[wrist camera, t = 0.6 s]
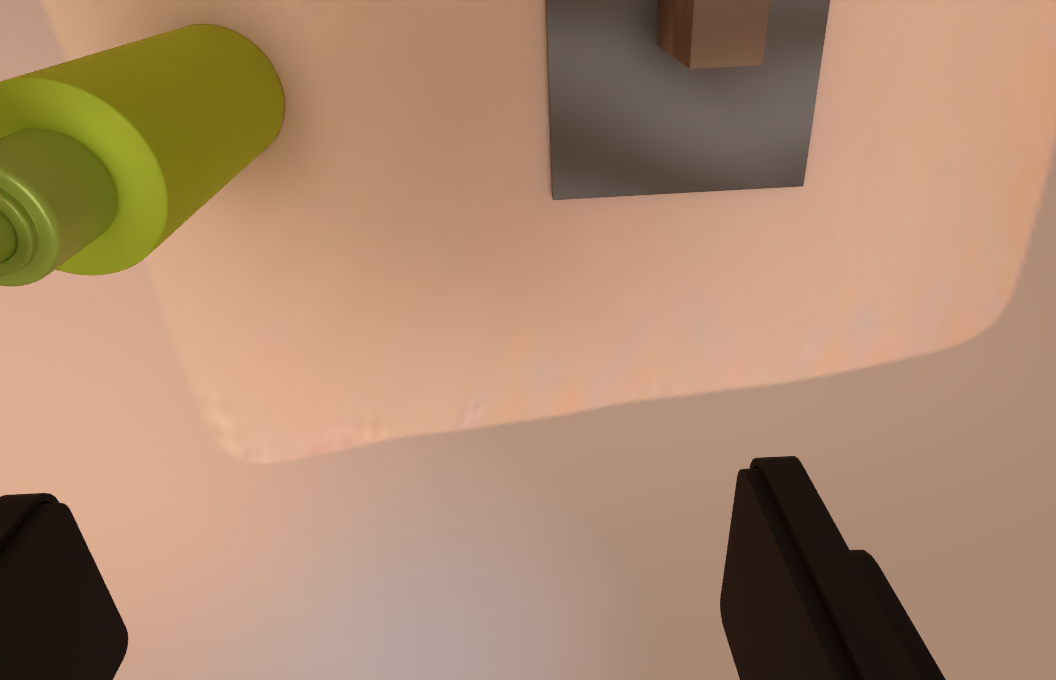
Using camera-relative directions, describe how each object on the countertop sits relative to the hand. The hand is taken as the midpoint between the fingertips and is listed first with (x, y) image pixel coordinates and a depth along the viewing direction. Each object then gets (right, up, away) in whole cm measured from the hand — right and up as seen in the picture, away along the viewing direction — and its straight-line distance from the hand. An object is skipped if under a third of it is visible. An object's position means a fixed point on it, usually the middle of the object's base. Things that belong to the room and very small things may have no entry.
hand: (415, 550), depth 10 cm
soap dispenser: (-12, +14, +22) cm, 29 cm away
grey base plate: (+8, +17, +21) cm, 28 cm away
